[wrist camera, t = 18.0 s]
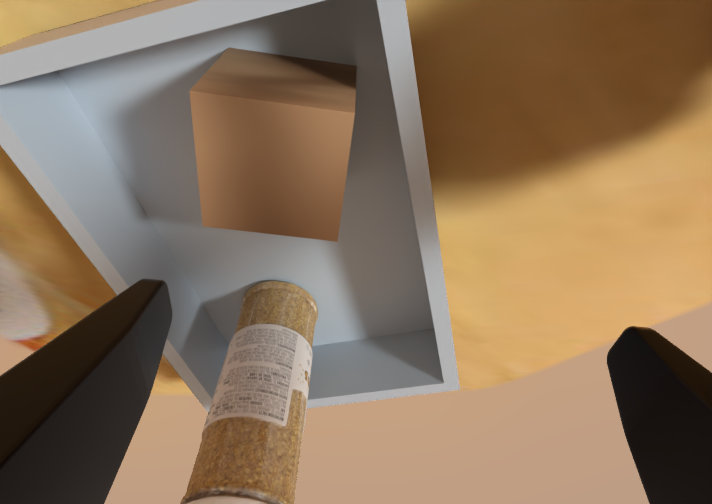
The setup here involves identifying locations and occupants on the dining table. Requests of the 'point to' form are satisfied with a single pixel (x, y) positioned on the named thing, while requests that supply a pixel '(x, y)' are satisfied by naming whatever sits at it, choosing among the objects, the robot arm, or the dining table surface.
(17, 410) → the robot arm
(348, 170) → the tray
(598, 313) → the dining table surface
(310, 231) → the walnut cube
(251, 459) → the sprinkles bottle
